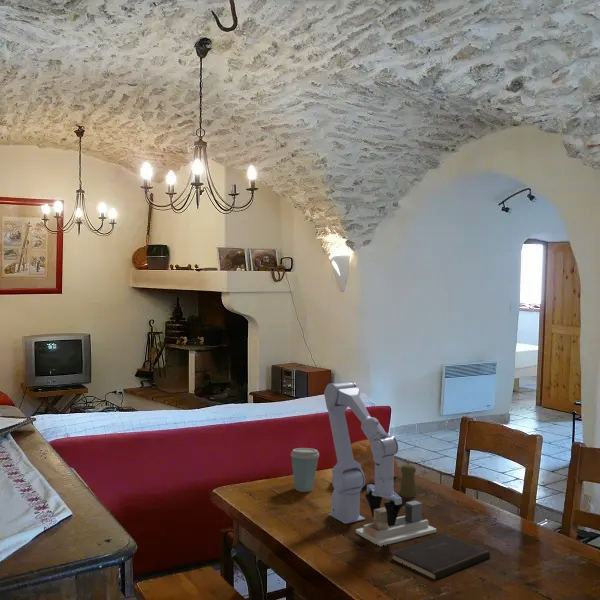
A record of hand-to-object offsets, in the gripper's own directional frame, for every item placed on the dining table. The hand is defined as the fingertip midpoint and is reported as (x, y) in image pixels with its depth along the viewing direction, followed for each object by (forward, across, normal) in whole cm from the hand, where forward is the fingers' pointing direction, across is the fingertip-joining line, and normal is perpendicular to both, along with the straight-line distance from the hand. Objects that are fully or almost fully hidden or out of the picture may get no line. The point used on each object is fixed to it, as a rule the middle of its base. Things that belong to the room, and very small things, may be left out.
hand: (383, 521), depth 200 cm
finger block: (+3, 0, -1) cm, 3 cm away
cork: (+5, -25, +31) cm, 40 cm away
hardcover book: (+5, +21, +4) cm, 22 cm away
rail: (+4, 0, +5) cm, 7 cm away
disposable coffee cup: (+5, -49, +2) cm, 49 cm away
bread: (+5, -48, +29) cm, 56 cm away
